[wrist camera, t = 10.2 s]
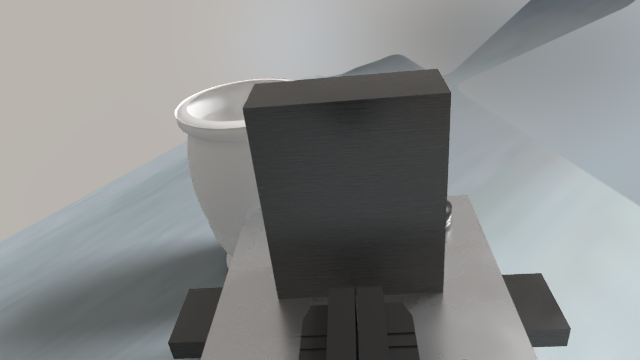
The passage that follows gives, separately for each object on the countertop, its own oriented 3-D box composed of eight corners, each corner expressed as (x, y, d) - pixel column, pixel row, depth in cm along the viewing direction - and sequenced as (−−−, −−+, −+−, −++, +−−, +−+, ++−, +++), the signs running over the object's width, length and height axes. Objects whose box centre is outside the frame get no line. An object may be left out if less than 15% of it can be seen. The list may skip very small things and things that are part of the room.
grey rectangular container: (177, 531, 25) (125, 422, 20) (232, 323, 37) (207, 227, 32) (586, 531, 23) (627, 411, 18) (502, 313, 35) (514, 209, 31)
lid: (193, 416, 20) (109, 184, 14) (250, 220, 32) (216, 55, 26) (547, 408, 19) (602, 152, 13) (466, 208, 31) (477, 32, 25)
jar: (207, 303, 39) (158, 134, 31) (223, 229, 48) (189, 84, 40) (338, 290, 39) (320, 116, 31) (330, 218, 48) (314, 70, 40)
